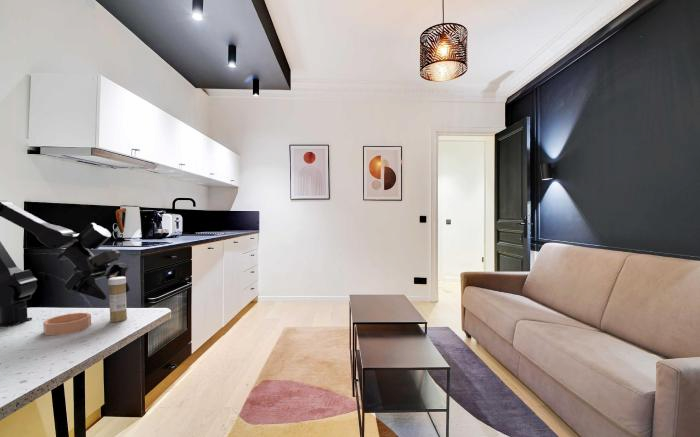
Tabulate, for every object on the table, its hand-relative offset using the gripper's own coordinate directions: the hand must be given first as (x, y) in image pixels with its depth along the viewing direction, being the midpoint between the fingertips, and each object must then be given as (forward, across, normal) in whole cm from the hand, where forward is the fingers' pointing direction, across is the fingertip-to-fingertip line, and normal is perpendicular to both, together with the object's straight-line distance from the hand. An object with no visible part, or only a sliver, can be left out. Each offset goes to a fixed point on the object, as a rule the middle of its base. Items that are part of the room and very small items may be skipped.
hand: (117, 294), depth 103 cm
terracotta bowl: (-1, -8, +12) cm, 14 cm away
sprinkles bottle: (+6, 0, +6) cm, 8 cm away
